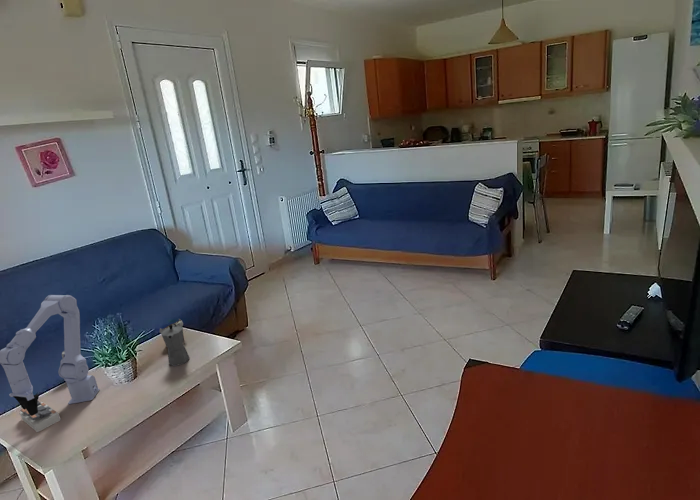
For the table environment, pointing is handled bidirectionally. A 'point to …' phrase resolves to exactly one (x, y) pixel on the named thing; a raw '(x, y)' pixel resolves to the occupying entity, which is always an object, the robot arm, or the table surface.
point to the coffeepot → (175, 345)
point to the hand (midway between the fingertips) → (30, 411)
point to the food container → (179, 324)
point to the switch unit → (42, 419)
